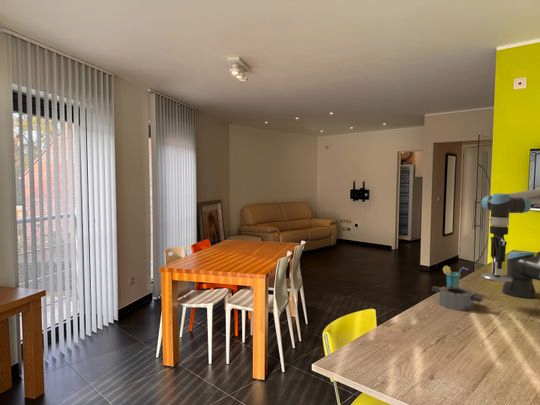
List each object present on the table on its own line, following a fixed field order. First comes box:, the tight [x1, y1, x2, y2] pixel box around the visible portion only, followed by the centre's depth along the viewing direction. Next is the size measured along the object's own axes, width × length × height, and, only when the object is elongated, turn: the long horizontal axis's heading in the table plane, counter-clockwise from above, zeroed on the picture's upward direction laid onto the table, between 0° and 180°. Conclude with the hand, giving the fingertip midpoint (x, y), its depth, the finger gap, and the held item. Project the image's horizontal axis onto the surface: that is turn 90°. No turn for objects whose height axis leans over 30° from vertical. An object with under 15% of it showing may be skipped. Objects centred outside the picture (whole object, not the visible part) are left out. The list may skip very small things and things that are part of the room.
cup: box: [442, 265, 470, 287], centre depth 199 cm, size 14×8×15 cm, turn 44°
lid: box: [480, 256, 513, 283], centre depth 177 cm, size 13×13×10 cm
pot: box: [431, 285, 484, 311], centre depth 180 cm, size 23×15×7 cm, turn 42°
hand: (496, 273), depth 177 cm, fingers closed on lid, 4 cm apart
